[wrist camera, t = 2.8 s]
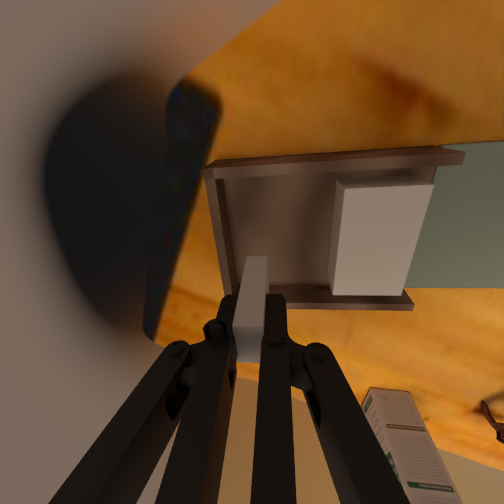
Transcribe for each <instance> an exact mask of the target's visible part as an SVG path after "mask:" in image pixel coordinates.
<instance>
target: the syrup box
mask: <svg viewBox="0 0 504 504" xmlns="http://www.w3.org/2000/svg"><path fill="white" fill-rule="evenodd" d="M361 409H362V411H363V413H364V415H365V416H366V418H367V420H368V422H369V424H370V426H371V428H372V430H373V432H374V434H375V436H376V438H377V440H378V441H379V443H380V445H381V447H382V449H383V451H384V453H385V455H386V457H387V459H388V461H389V463H390V465H391V467H392V468H393V470H394V472H395V474H396V476H397V478H398V480H399V482H400V484H401V486H402V488H403V490H404V492H405V493H406V495H407V497H408V499H409V501H410V503H411V504H463V503H462V500H461V498H460V496H459V494H458V492H457V490H456V488H455V486H454V484H453V482H452V480H451V477H450V475H449V473H448V471H447V469H446V467H445V465H444V463H443V461H442V459H441V457H440V455H439V453H438V451H437V448H436V446H435V444H434V442H433V440H432V438H431V436H430V434H429V432H428V430H427V428H426V426H425V424H424V422H423V420H422V418H421V415H420V413H419V411H418V409H417V407H416V405H415V403H414V401H413V399H412V397H411V395H410V393H409V392H405V391H399V390H391V389H380V388H370V389H369V393H368V395H367V396H366V398H365V401H364V403H363V405H362V407H361Z"/></svg>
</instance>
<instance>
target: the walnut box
mask: <svg viewBox="0 0 504 504" xmlns="http://www.w3.org/2000/svg"><path fill="white" fill-rule="evenodd" d="M465 155H466V152H463V151H458V150H453V149H448V148H443V147H438V146H418V147H404V148H389V149H374V150H359V151H345V152H330V153H315V154H300V155H285V156H271V157H256V158H241V159H226V160H215V161H214V162H212V163H211V164H209V165H208V166H206V167H205V168H203V173H204V179H205V184H206V190H207V196H208V202H209V208H210V213H211V219H212V225H213V231H214V237H215V242H216V248H217V254H218V260H219V266H220V271H221V277H222V283H223V289H224V295H237V294H239V291H240V286H241V281H242V277H243V272H244V267H245V262H246V257H247V256H267V257H268V276H269V294H283V296H284V297H285V299H286V309H330V310H394V311H412V310H413V307H414V303H413V302H412V300H411V299H410V297H409V296H408V295H407V293H406V292H405V290H404V289H403V291H402V294H401V296H384V295H333V294H332V291H331V287H330V284H329V281H328V277H327V274H328V264H329V254H330V243H331V233H332V222H333V212H334V201H335V191H336V181H337V179H355V178H374V177H392V176H411V175H414V176H416V177H418V178H420V179H423V180H425V181H427V182H429V183H431V182H432V178H433V175H434V172H435V168H436V166H451V165H462V164H463V161H464V158H465Z"/></svg>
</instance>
